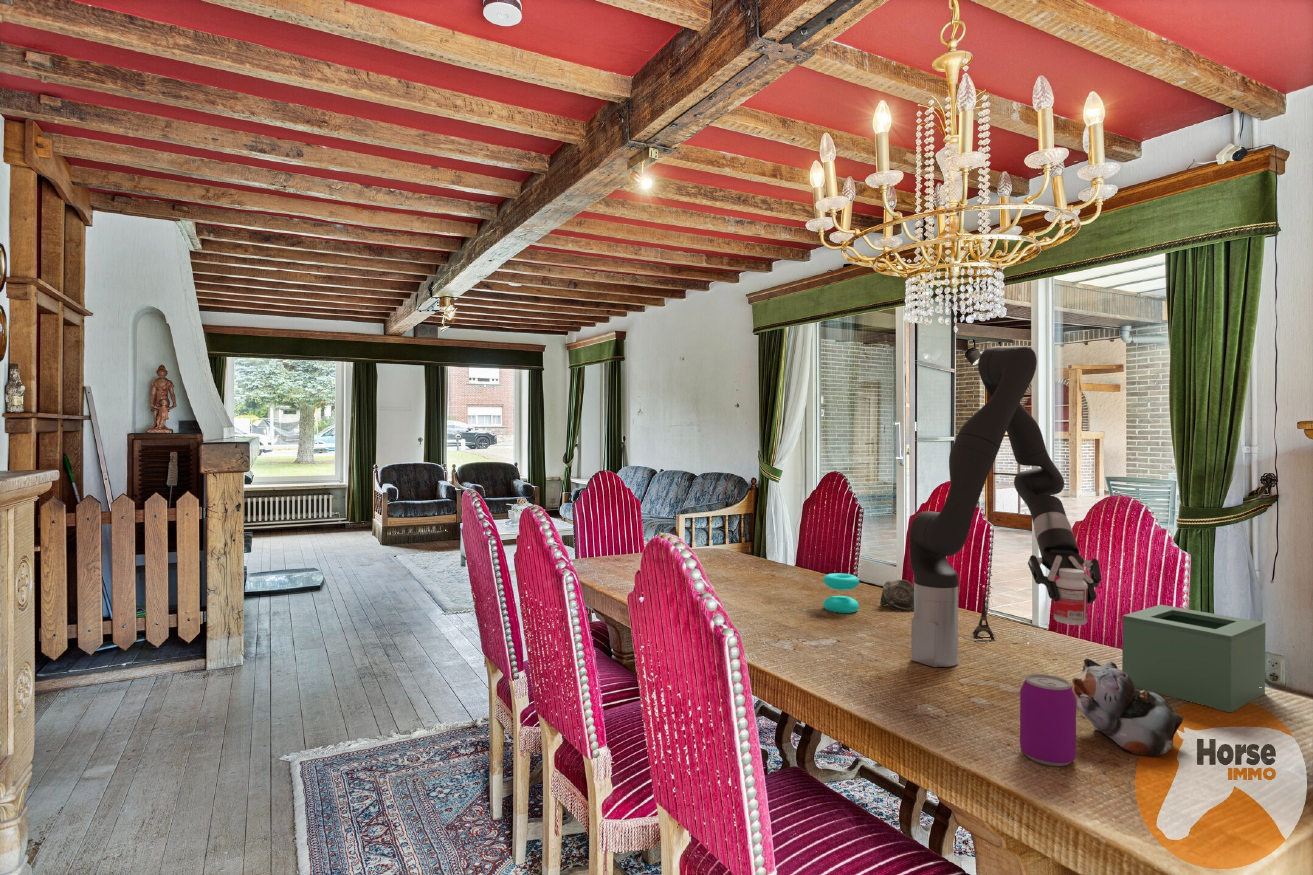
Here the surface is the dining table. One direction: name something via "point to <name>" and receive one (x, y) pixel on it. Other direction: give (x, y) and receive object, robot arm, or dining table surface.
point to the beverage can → (1048, 720)
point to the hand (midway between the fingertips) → (1073, 600)
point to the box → (1195, 656)
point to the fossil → (898, 595)
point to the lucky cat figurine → (1125, 710)
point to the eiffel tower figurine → (982, 627)
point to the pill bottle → (1071, 597)
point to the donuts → (841, 602)
